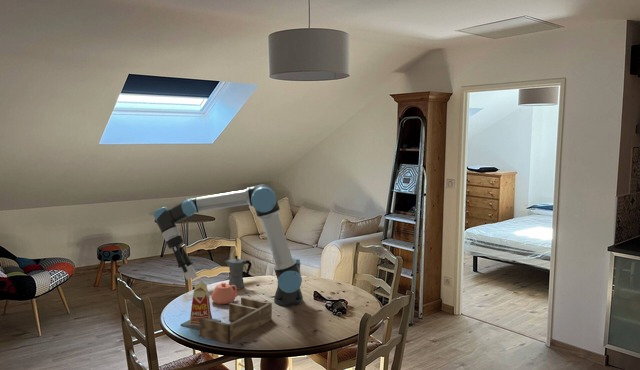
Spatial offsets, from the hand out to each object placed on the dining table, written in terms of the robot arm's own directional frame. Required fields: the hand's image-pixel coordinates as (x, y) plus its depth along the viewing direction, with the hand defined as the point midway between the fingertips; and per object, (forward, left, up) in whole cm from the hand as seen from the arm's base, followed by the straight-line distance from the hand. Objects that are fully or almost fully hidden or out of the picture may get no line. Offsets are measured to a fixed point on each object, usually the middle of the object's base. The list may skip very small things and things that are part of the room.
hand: (192, 278), depth 249 cm
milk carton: (-5, +8, -19) cm, 21 cm away
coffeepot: (-18, -46, -19) cm, 53 cm away
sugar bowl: (-13, -21, -19) cm, 31 cm away
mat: (-5, +9, -19) cm, 22 cm away
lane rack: (-22, +14, -19) cm, 32 cm away
